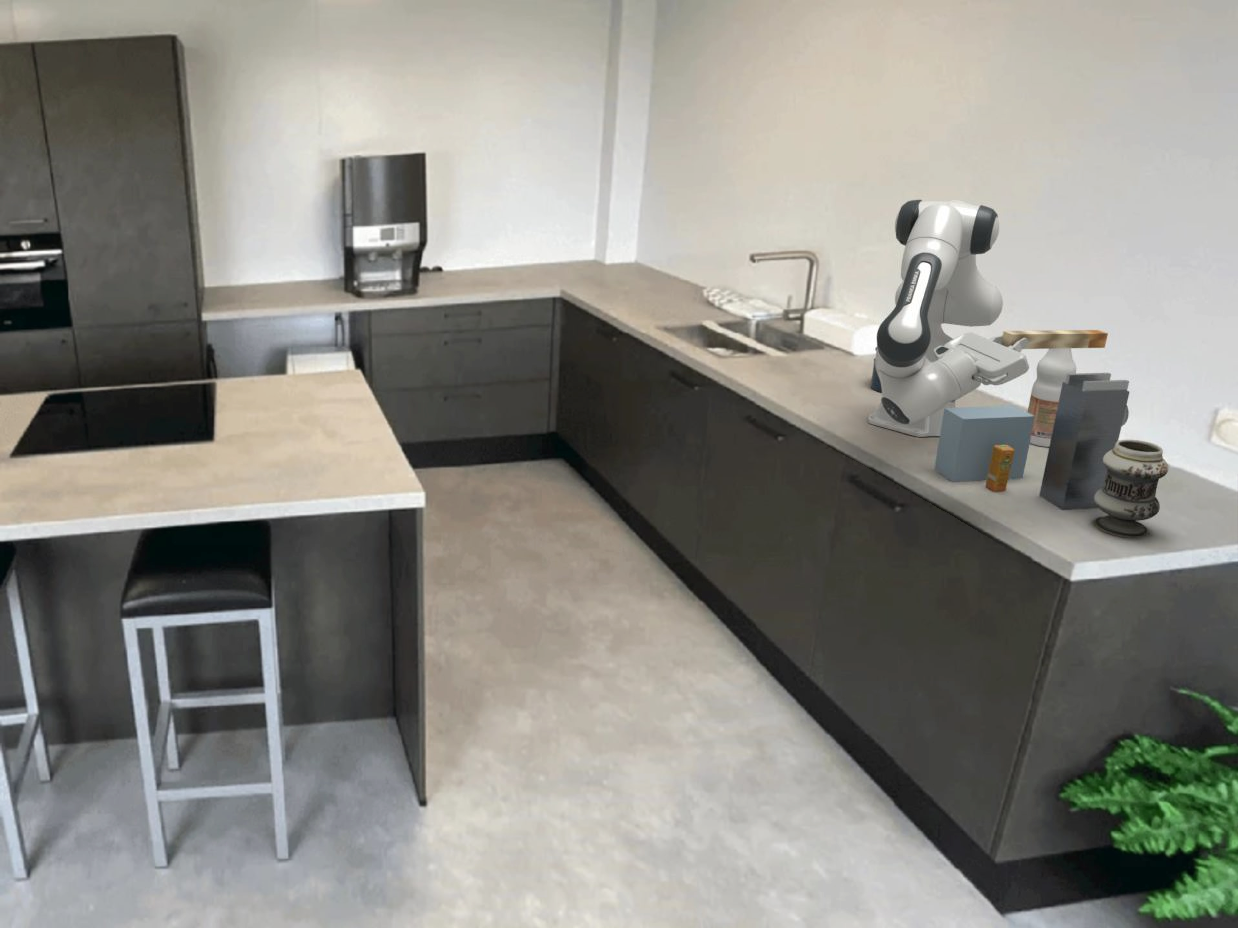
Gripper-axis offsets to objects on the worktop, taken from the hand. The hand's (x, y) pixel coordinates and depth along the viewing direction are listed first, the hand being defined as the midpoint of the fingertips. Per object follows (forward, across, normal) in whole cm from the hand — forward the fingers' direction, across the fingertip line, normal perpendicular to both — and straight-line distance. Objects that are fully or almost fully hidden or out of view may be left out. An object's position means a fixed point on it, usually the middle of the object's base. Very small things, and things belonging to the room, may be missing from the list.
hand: (1019, 337), depth 198 cm
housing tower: (0, 0, +42) cm, 42 cm away
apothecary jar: (0, -14, +43) cm, 45 cm away
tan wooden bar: (+6, 0, +6) cm, 8 cm away
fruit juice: (+16, +37, +51) cm, 65 cm away
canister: (+1, +85, +43) cm, 95 cm away
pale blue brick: (-10, +18, +36) cm, 42 cm away
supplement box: (-12, +9, +36) cm, 39 cm away
